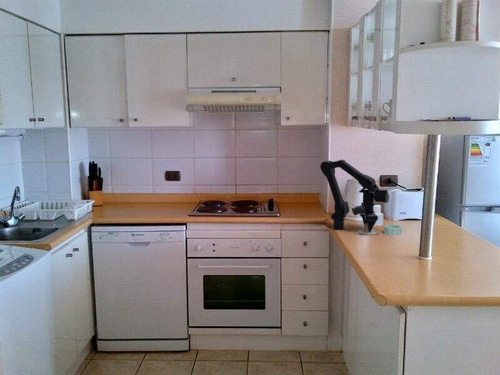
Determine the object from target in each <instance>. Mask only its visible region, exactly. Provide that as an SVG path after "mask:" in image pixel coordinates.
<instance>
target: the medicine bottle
mask: <svg viewBox="0 0 500 375" xmlns="http://www.w3.org/2000/svg"><path fill="white" fill-rule="evenodd" d="M374 204H375V206H374V209H373V211H374V213H375V214H376V215H377V216H378V220H377V221H376V223H375V224H374V226H373V227H375V226H379V227H380V226H384V213H382V205H380V204H379V203H374Z"/></svg>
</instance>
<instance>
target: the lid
mask: <svg viewBox="0 0 500 375" xmlns="http://www.w3.org/2000/svg"><path fill="white" fill-rule="evenodd" d="M357 230H358V232H357V233H358V234H359V233H360V234H366V235H367V236H373V234H377V233H378V231H377V230H376V229H372V230H371V232H368V225H367V223H364V224H363V228H362V229H357ZM360 234H359V235H360ZM366 235H365V236H366Z"/></svg>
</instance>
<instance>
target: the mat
mask: <svg viewBox="0 0 500 375" xmlns="http://www.w3.org/2000/svg"><path fill="white" fill-rule="evenodd" d="M358 230H359V229H356V232H357V233H358ZM358 234H359V235H361V236H363V235H364V236H366V234H360V233H358ZM373 235H375V236H379V235H380V234H379V233H378V232H377V234H373ZM373 235H372V236H373Z"/></svg>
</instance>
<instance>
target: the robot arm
mask: <svg viewBox="0 0 500 375" xmlns="http://www.w3.org/2000/svg"><path fill="white" fill-rule="evenodd" d="M337 168H340V169H341V170H343V171H344V172H345V173H347V174H349V175H350V176H351V177H352V178H353V179H355V180H356V181H357V183H358V184H359V185H360V186H361V187H362V188H361V189H360V190H358V193H359V194H360V193H361V194H362V202H360V205H356V206H354V207H352V208H351V207H350V206H349V202H348V201H345V200H344V199H343V196H342V193H341V190H340V187H339V184H338V181H337V178H336V169H337ZM319 169H320V170H321V172H322V174H323V175H324V176H325V178H326V179H327V183H328V186H329V189H330V192H331V195H332V198H333V201H334V206H333V208H334V212H333V213H332V214H331V215H330V218H331V220H333V222H332V223H333V224H332V227H331V229H333V231H346V228H345V218H346V217H347V215H348V214H349V212H350V209H351V212H352V215H353V216H358V215H359V216H360V217H361V219H362V223H363V225H364V223H367V225H368V232H371V230H373V228H374V227H375V226H374V224H375V223H376V221H377V220H378V216H377V215H376V214H375V213H374V211H373V209H374V206H375V204H376V203H382V204H387V203H389V199H390V195H389V190H388V189H380V187H379V186H378V185H377V184H376V180H375V178H374V177H372V176H370V175H368V174H365V173H362V172H361V171H360V170H358V169H356V168H355V167H354V166H353V165H351V164H350V163H348V162H347V161H346V160H345V159H339V160H336V161H332V160H326V161H322V162H321V164H320V168H319ZM375 202H376V203H375Z"/></svg>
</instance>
